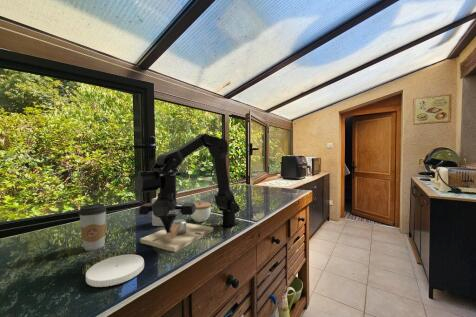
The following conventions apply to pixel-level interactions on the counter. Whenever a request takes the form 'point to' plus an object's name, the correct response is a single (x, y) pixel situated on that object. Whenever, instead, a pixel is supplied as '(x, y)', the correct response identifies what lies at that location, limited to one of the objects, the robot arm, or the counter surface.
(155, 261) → the counter surface
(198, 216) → the lidded jar
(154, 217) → the supplement box
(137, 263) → the plastic lid
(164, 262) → the counter surface
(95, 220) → the coffee cup
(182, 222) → the handle
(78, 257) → the counter surface
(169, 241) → the coupling base
